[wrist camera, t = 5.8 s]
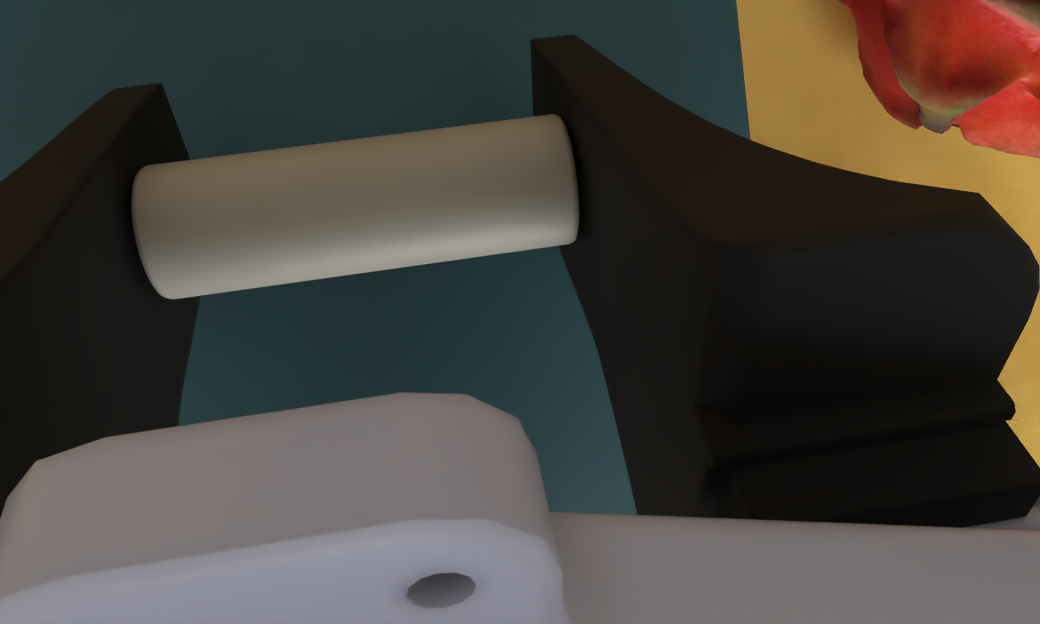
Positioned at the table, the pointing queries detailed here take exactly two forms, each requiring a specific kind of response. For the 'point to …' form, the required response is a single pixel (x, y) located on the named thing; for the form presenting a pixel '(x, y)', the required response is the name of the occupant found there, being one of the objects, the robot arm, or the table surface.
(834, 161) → the table surface
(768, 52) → the table surface
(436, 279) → the cool box lid
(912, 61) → the dragon fruit
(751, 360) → the robot arm
